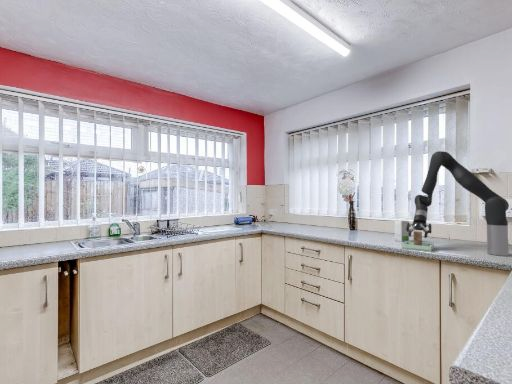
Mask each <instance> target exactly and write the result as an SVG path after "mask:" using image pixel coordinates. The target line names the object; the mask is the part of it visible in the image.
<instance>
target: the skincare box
mask: <svg viewBox="0 0 512 384" xmlns="http://www.w3.org/2000/svg"><path fill="white" fill-rule="evenodd" d="M407 223H410V222H409V220H399V219H398V220H394V241H395V242H401V243H402V242H403V243H404V242H406V241H410V236H409V235H408V233H409V232H407V231H406V227H407Z"/></svg>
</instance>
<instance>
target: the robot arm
mask: <svg viewBox="0 0 512 384" xmlns="http://www.w3.org/2000/svg"><path fill="white" fill-rule="evenodd" d="M428 166H429V167H428V170H427V174H426V177H425V180H424V183H423V185H422V187H421V192H422V193H423V194H426V195H427V196H426V195H422V194H417V195H416V196H415V197H414V204H415V212H414V215H413V221H412V223H410V222H409V223H407V227H406V231H407V232H409V233H408V235H409V238H411V237H412V234H413V233H414V231H420V232H424V239H427V238H428V234H432V229H433V228H432V227H433V226H432V224H431V223H429V224H427V220H428V210H429V209H428V207H430V206H431V205H432V202H433V193H434V191H435V188H436V185H437V182H438V174H439V171H440V169H441V167H443V168H445V169H446V170H448V171H449V173H450V174H451V175H452V177H453V178H454V180H455V181H456V182H457V183H458V185H460V186H461V187H462V188H464V189H465V190H466V191H468V192H469V193H471V194H473V195H475V196H476V197H478V198H479V199H480V200H481V201H483V202H484V216H485V217H484V218H485V221H486V254H488V255H493V256H500V257H501V256H502V257H505V256H506V257H509V255H510V254H509V252H510V250H509V226H508V225H509V224H508V223H509V222H508V220H507V211H508V209H509V208H510V207H509V202H508V201H507V199H505V198H504V197H502V196H501V195H499V194H498V193H496V192H494V191H493V190H492V189H491V188H489V187H488V186H487V185H486V184H485V183H484V182H483V181H482V180H481V179H480V178H478V177H477V176H476V175H475V173H472V172H471V171H470V170H469V169H467V168H466V167H465V166H463V165H462V164H460V163H459V162H458V161H457V160H456V158H454V157H453V156H452V154H450V153H449V152H448V151H441V150H440V151H435V152H434V153H432V154H431V157H430V161H429V165H428Z"/></svg>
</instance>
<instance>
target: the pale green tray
mask: <svg viewBox="0 0 512 384" xmlns="http://www.w3.org/2000/svg"><path fill="white" fill-rule="evenodd" d="M401 249H402V250H403V249H404V250H411V251H412V250H413V251H421V252H429V251H430V253H431V252H432V251H433V250H434V249H435V243H430V242H422V246H420V245H414V241H410V240H409V241H406V242H403V243H402V242H401Z"/></svg>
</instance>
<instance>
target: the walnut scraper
mask: <svg viewBox="0 0 512 384" xmlns="http://www.w3.org/2000/svg"><path fill="white" fill-rule="evenodd" d="M422 232H423V231H419V230H415V231H413V242H414V245H420V246H422V243H423V238H422V237H423V235H422V234H423V233H422Z"/></svg>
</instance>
